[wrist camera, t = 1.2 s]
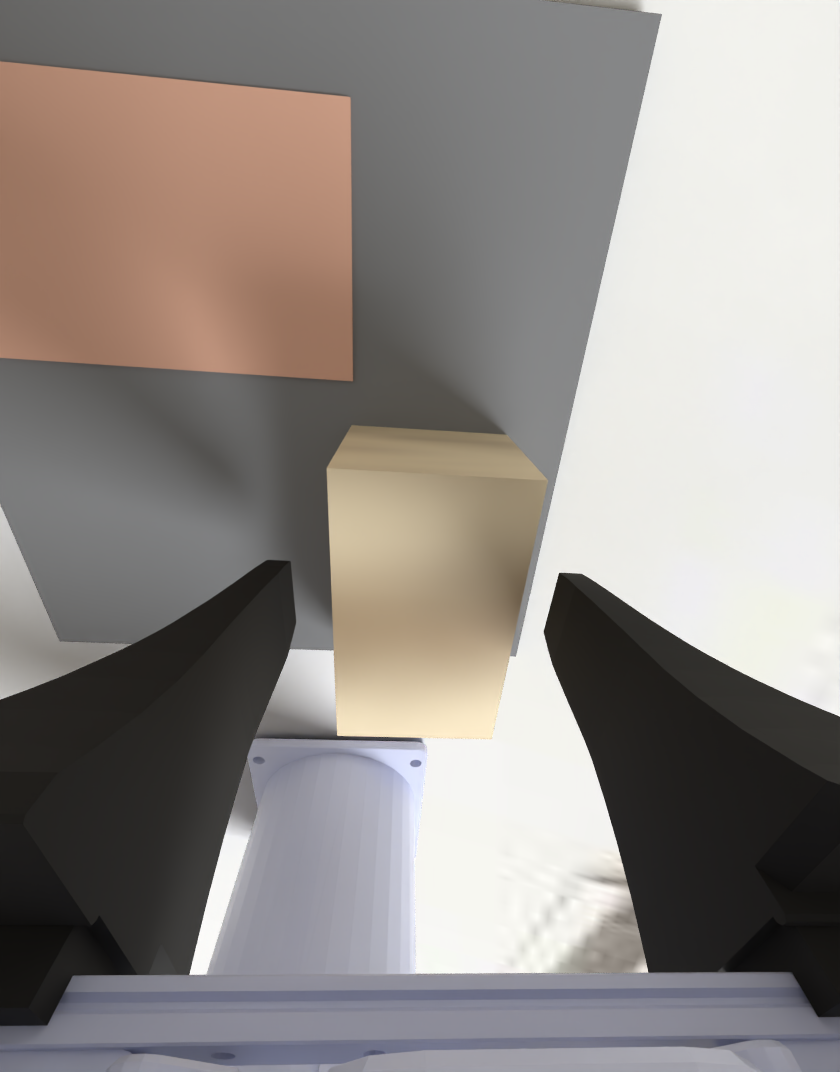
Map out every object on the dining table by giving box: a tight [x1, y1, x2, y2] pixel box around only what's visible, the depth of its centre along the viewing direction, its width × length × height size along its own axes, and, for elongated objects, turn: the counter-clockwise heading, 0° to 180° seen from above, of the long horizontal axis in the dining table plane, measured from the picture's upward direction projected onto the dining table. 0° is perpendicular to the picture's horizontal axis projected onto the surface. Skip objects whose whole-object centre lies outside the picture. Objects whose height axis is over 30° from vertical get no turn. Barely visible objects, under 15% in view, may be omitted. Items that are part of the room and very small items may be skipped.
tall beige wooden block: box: [327, 425, 548, 739], centre depth 12 cm, size 8×4×4 cm, turn 176°
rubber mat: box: [0, 0, 662, 656], centre depth 12 cm, size 17×17×1 cm
